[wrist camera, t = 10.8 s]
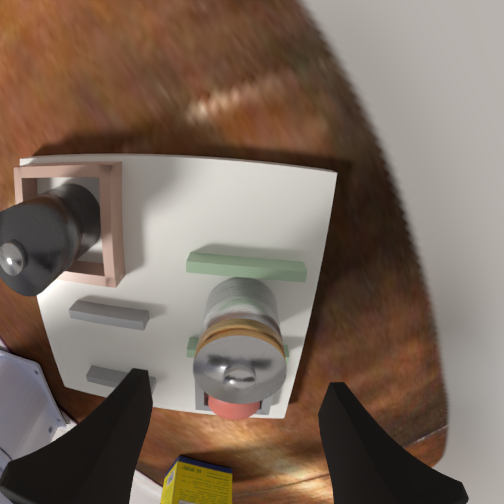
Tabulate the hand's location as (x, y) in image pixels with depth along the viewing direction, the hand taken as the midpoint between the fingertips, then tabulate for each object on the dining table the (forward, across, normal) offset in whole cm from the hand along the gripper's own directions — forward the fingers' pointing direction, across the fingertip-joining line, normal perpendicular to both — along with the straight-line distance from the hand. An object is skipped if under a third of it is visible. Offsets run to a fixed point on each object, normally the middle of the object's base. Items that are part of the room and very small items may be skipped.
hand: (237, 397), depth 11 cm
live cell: (+7, 0, 0) cm, 7 cm away
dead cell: (+7, +10, -5) cm, 13 cm away
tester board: (+8, +5, +1) cm, 9 cm away
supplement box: (+8, +3, +23) cm, 25 cm away
